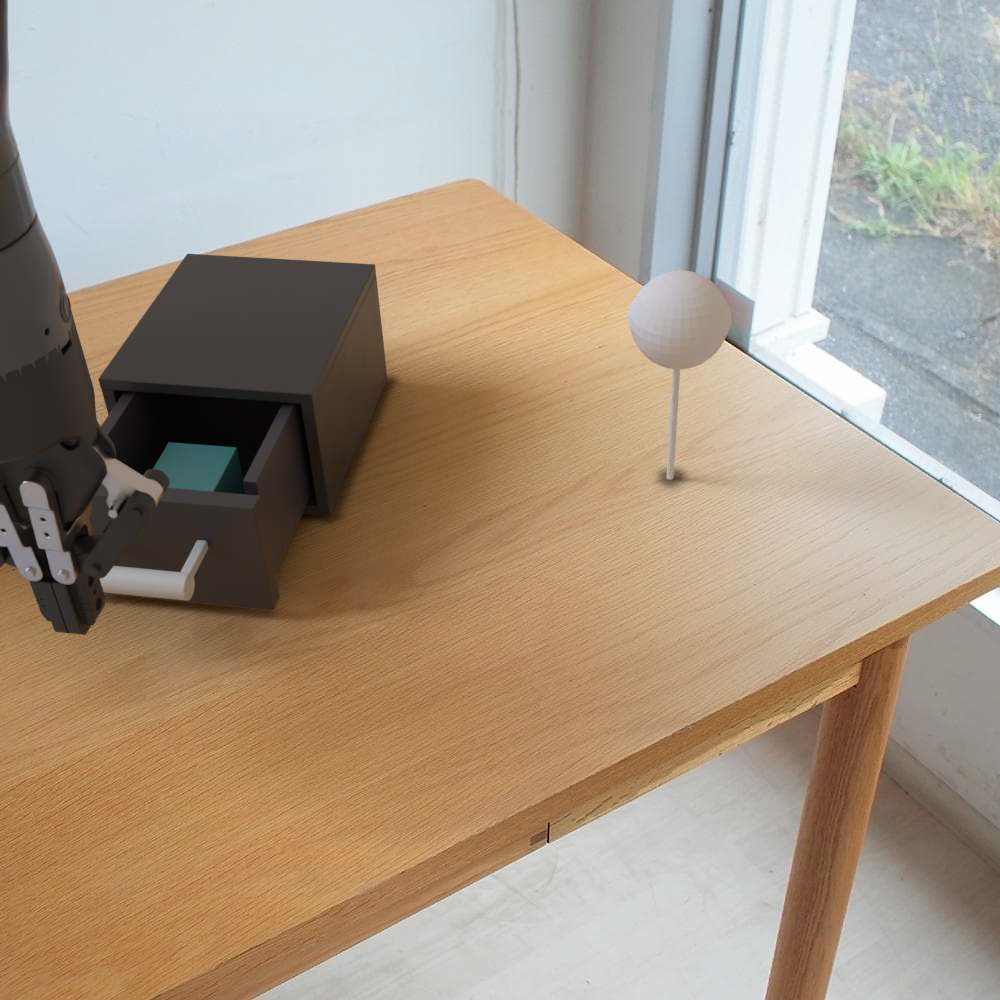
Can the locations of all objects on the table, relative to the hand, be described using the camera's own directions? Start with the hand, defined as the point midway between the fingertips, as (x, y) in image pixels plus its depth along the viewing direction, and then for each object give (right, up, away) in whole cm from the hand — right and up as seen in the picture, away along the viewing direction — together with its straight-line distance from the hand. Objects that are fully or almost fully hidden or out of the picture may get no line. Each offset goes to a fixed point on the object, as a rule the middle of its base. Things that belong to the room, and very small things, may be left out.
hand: (79, 621), depth 66 cm
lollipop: (+32, +7, +21) cm, 39 cm away
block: (+3, +5, +16) cm, 16 cm away
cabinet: (+5, +11, +26) cm, 28 cm away
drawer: (+3, +3, +16) cm, 16 cm away
